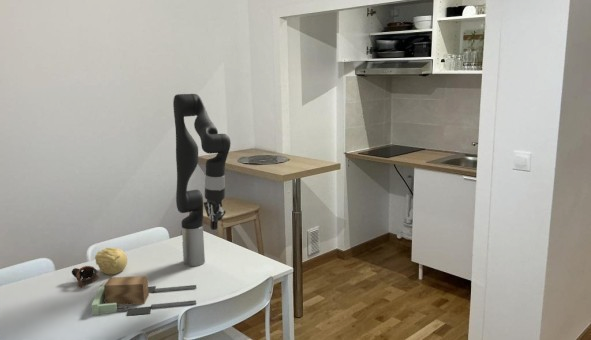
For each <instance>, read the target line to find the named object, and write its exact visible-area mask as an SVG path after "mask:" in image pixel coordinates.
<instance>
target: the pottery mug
mask: <svg viewBox="0 0 591 340" xmlns="http://www.w3.org/2000/svg"><path fill="white" fill-rule="evenodd" d="M98 273H99V270H97V269H96V267H94V266H91V265H85V266H81V267H80V268H78V267H77V268H76V267H74V268H73V269H72V270H71V274H72V276H73V277H75V279H76V281H77V283H78V284H77V286H78V288H80V289H82V288H83V287H85V286H89V285H91V284H93V282H95V281H97V279H99V278H100V277H99V275H98Z"/></svg>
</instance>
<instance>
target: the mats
mask: <svg viewBox="0 0 591 340" xmlns="http://www.w3.org/2000/svg"><path fill="white" fill-rule="evenodd" d="M156 287H157V285H154V286H152V285H151V286H148V291H149V294H150V293H151V294H152V293H156V292H155V291H154V290H155V289H157V288H156ZM126 312H127V313H126V317H129V316H130V317H131V316H141V315H150V314H151V312H152V309H151V305H150V306H141V307H130V308H129V309H128V311H126Z"/></svg>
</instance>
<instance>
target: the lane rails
mask: <svg viewBox="0 0 591 340" xmlns="http://www.w3.org/2000/svg"><path fill="white" fill-rule="evenodd" d="M195 289H197V284H193V285H182V286H181V285H180V286H171V287H159V288H155V290H154V291H155V292H154V293H162V292H173V291H183V290H195ZM192 304H194V305H196V304H197V300H184V301H176V302H173V301H172V302H164V303H154V304H150V306H151V310H152V309H162V308H170V307H172V308H173V307H181V306H192ZM128 309H129V306H122V307H121V306H120V307H117V309H116V310H117V312H116V313H118V312H119V313H120V312H121V313H122V312H128Z"/></svg>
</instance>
